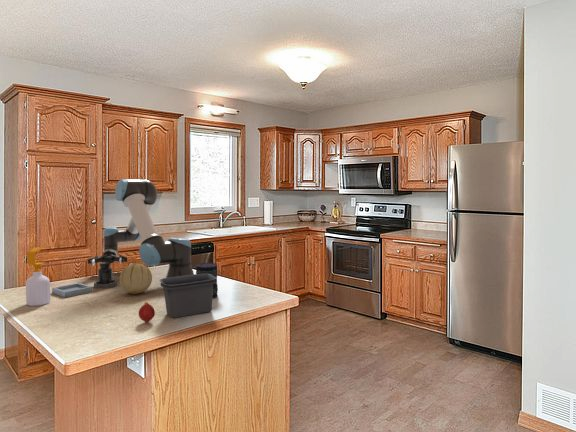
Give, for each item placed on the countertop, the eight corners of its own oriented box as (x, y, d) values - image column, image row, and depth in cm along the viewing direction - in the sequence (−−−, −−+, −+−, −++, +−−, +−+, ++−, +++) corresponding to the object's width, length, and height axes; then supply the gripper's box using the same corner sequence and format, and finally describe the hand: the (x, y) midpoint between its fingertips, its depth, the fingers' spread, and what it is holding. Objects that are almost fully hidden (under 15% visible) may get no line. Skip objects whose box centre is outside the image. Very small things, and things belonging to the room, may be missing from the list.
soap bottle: (55, 301, 188) (52, 247, 186) (37, 307, 180) (34, 250, 178) (40, 299, 191) (37, 246, 189) (21, 305, 183) (18, 249, 181)
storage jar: (222, 295, 200) (221, 263, 198) (209, 300, 191) (209, 267, 189) (204, 292, 204) (204, 262, 203) (191, 297, 195) (191, 265, 194)
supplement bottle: (115, 284, 221) (114, 261, 220) (108, 287, 214) (107, 264, 213) (102, 284, 221) (102, 261, 220) (95, 287, 214) (95, 263, 214)
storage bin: (166, 321, 161) (166, 285, 160) (157, 311, 175) (156, 277, 173) (219, 313, 172) (219, 278, 171) (206, 303, 185) (206, 271, 184)
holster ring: (121, 285, 218) (121, 281, 218) (101, 289, 210) (101, 285, 210) (110, 282, 225) (109, 278, 225) (89, 286, 216) (89, 282, 216)
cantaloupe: (126, 299, 192) (125, 266, 191) (115, 292, 203) (114, 262, 202) (157, 293, 202) (156, 262, 200) (145, 288, 213) (145, 258, 212)
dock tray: (92, 291, 205) (92, 286, 205) (64, 297, 195) (64, 292, 195) (79, 287, 213) (79, 282, 213) (52, 293, 203) (51, 287, 203)
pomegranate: (141, 320, 163) (140, 299, 162) (156, 319, 163) (155, 299, 163) (137, 325, 157) (136, 304, 156) (152, 324, 158) (152, 303, 157)
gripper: (132, 261, 251) (131, 268, 231) (86, 263, 243) (81, 271, 223) (132, 248, 250) (131, 255, 230) (86, 250, 242) (80, 257, 222)
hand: (106, 263), depth 226 cm, fingers open, 13 cm apart
